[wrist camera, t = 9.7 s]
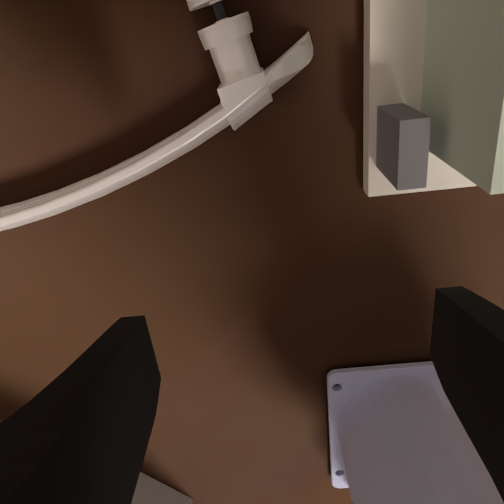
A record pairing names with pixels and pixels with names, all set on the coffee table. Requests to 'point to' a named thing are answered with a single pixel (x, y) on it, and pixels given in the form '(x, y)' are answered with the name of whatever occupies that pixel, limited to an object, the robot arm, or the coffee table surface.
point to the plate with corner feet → (398, 104)
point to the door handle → (226, 113)
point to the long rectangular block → (466, 88)
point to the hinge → (157, 493)
